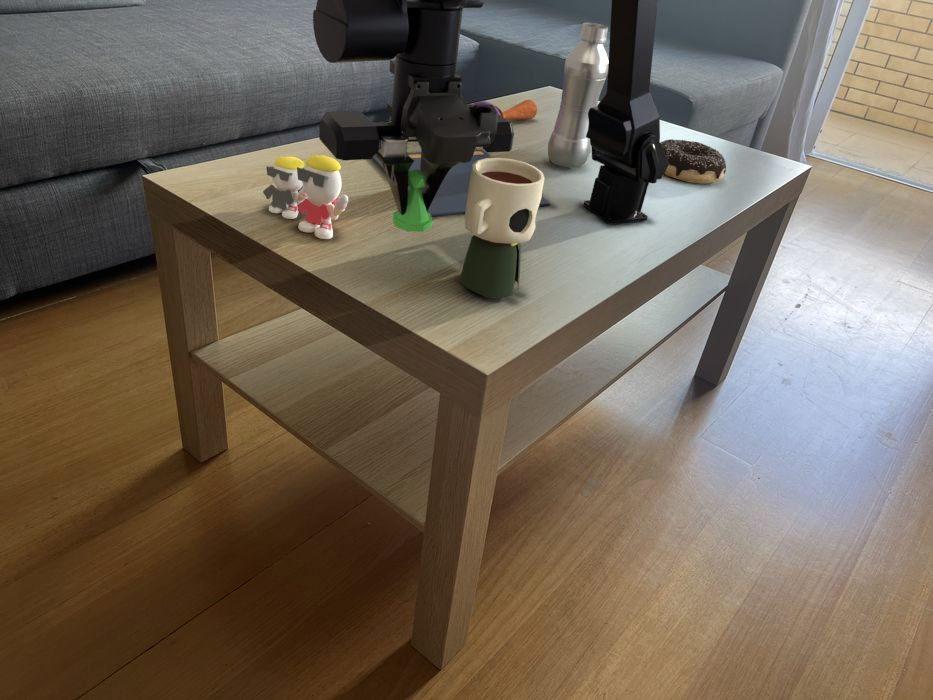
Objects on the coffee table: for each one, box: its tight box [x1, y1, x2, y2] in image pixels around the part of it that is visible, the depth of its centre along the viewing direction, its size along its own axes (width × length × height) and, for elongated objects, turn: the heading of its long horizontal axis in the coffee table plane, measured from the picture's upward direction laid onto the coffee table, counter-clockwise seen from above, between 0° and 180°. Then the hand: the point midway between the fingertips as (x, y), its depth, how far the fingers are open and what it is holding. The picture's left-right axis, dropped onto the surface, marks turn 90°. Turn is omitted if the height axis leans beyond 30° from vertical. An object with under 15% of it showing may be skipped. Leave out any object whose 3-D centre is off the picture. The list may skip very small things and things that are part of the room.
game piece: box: [392, 169, 433, 233], centre depth 75 cm, size 4×4×6 cm
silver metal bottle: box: [547, 22, 609, 169], centre depth 105 cm, size 6×7×20 cm
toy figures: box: [262, 154, 349, 240], centre depth 81 cm, size 12×4×8 cm, turn 49°
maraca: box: [472, 99, 538, 121], centre depth 119 cm, size 6×6×20 cm
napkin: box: [371, 149, 551, 217], centre depth 100 cm, size 18×20×1 cm
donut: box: [660, 138, 727, 185], centre depth 114 cm, size 11×12×4 cm
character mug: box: [459, 157, 546, 300], centre depth 73 cm, size 11×7×13 cm, turn 149°
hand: (412, 212), depth 76 cm, fingers closed on game piece, 2 cm apart
